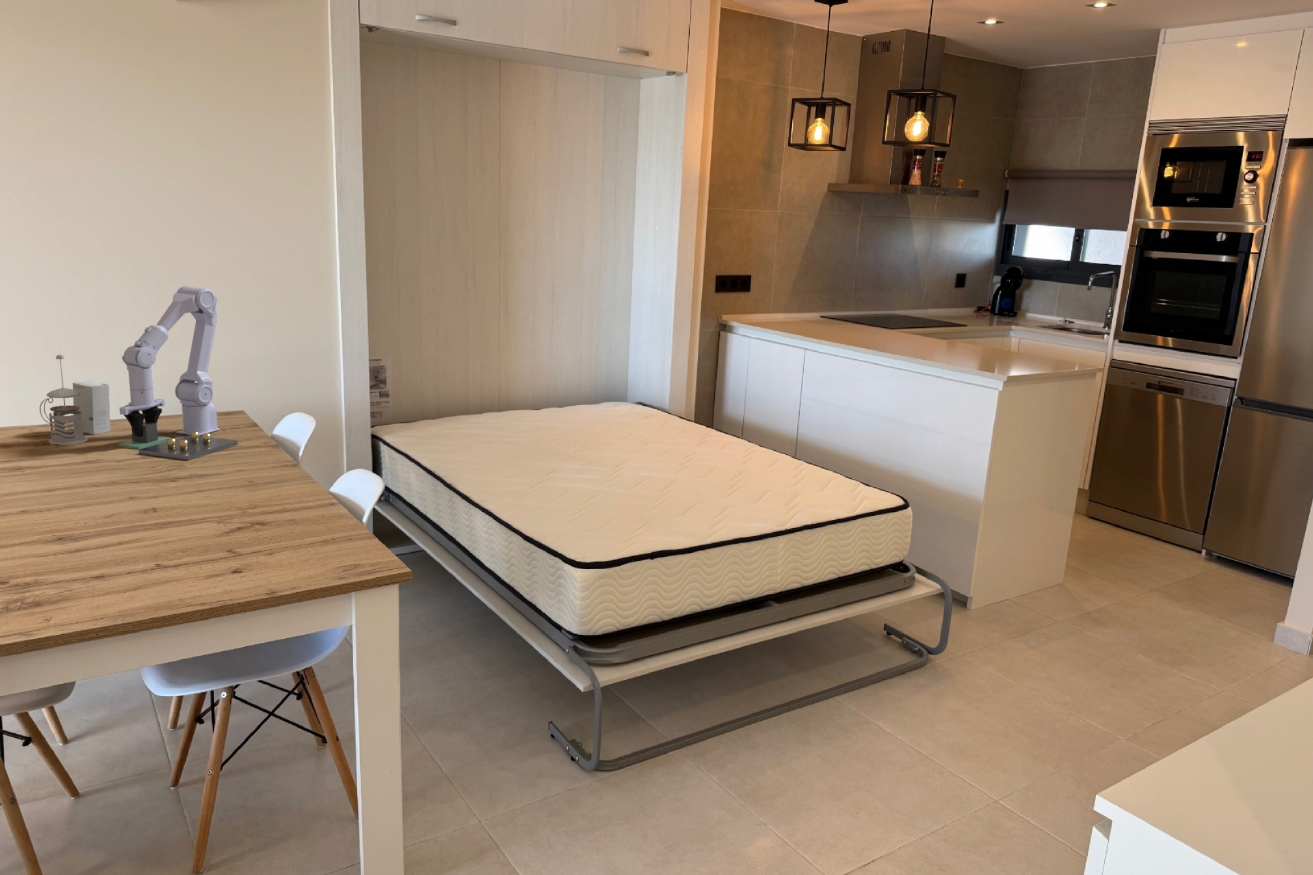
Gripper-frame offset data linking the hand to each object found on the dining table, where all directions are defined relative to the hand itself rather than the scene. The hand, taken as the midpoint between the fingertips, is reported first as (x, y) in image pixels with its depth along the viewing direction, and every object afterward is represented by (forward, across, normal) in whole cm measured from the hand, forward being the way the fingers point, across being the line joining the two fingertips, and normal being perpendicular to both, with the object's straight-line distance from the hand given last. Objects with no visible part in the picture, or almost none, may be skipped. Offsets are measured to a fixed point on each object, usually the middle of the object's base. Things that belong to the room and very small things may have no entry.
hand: (144, 434), depth 260 cm
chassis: (+3, 0, +15) cm, 15 cm away
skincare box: (+3, -5, -23) cm, 24 cm away
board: (+3, 0, 0) cm, 3 cm away
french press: (+3, +7, -21) cm, 22 cm away
